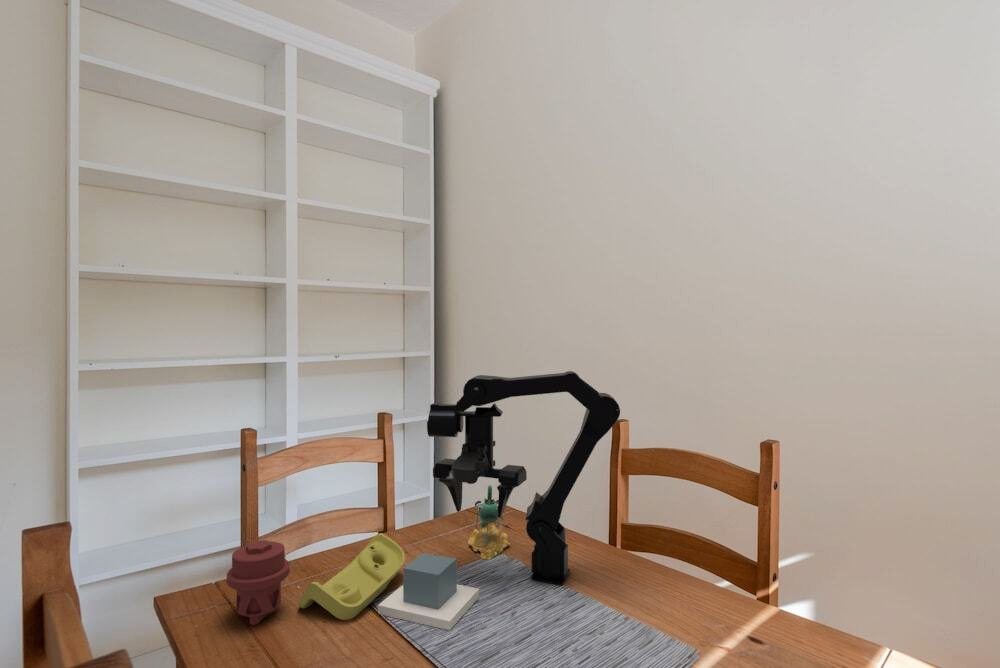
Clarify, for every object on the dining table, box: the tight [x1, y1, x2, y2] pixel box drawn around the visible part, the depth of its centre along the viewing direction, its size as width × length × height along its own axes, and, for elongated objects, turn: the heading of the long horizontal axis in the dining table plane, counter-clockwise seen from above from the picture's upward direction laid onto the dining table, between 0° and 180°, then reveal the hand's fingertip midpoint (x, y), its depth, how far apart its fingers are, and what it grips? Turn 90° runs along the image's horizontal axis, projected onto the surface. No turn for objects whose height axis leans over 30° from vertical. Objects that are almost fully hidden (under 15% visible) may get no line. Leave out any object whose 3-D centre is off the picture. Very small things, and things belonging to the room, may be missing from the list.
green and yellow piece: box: [467, 484, 511, 560], centre depth 124 cm, size 10×18×15 cm, turn 177°
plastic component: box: [297, 532, 406, 621], centre depth 102 cm, size 20×8×10 cm
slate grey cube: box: [402, 552, 458, 610], centre depth 96 cm, size 7×7×6 cm
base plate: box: [377, 583, 480, 631], centre depth 96 cm, size 14×12×4 cm
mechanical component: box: [226, 539, 291, 626], centre depth 93 cm, size 12×10×10 cm
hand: (479, 514), depth 109 cm, fingers open, 9 cm apart
